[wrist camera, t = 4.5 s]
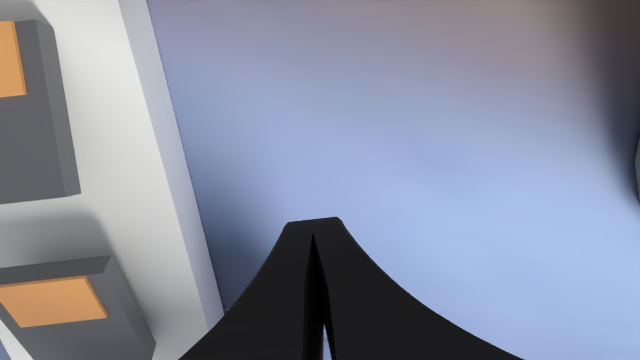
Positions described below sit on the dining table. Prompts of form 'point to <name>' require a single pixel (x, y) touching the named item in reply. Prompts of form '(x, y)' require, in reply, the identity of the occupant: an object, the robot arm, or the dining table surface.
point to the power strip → (119, 174)
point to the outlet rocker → (33, 117)
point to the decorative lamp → (638, 166)
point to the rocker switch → (74, 311)
